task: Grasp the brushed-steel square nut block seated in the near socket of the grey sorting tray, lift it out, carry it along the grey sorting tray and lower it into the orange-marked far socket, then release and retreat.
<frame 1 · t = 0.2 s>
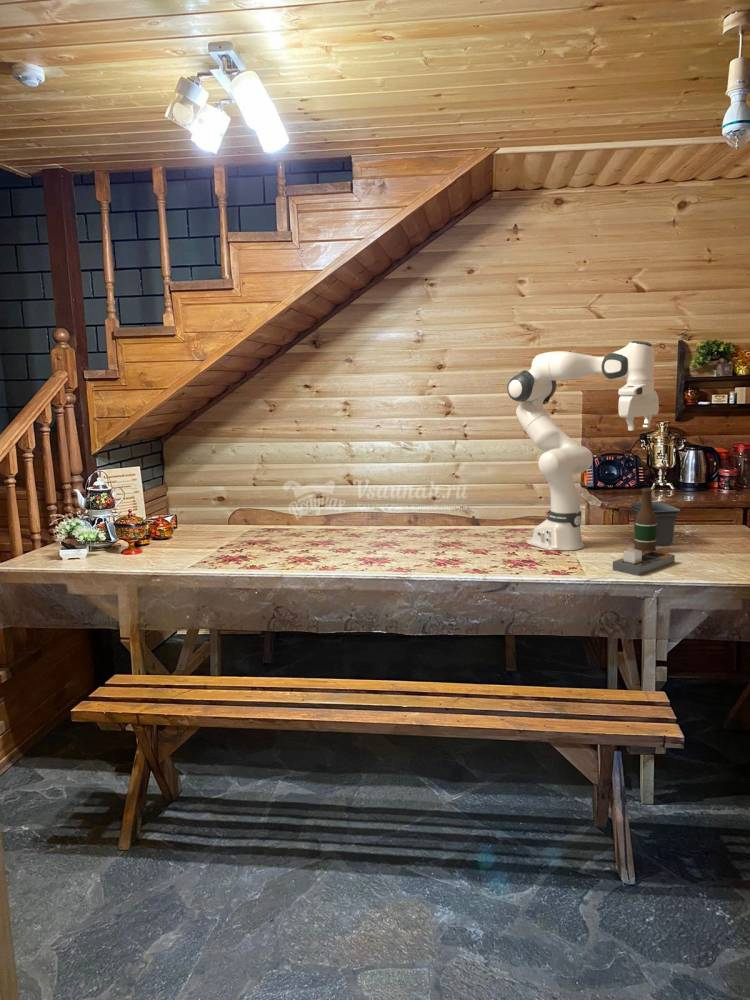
hand: (638, 429, 254), 47 cm above the table, fingers open, 8 cm apart
nut block: (632, 570, 249), resting on grey sorting tray
beer bottle: (644, 552, 275), on the table
grey sorting tray: (643, 568, 254), on the table
storage bin: (655, 541, 290), on the table
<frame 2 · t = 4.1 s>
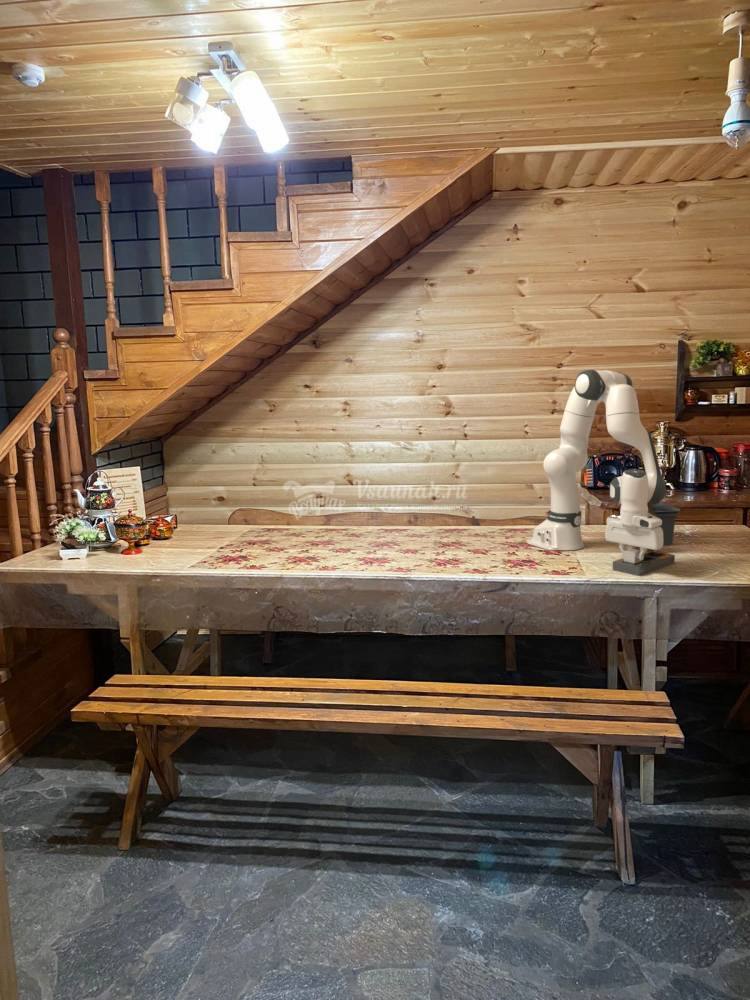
hand: (632, 558, 249), 5 cm above the table, fingers closed on nut block, 4 cm apart
nut block: (632, 570, 249), point 1 cm above the table, touching gripper, grey sorting tray
everything else where it was.
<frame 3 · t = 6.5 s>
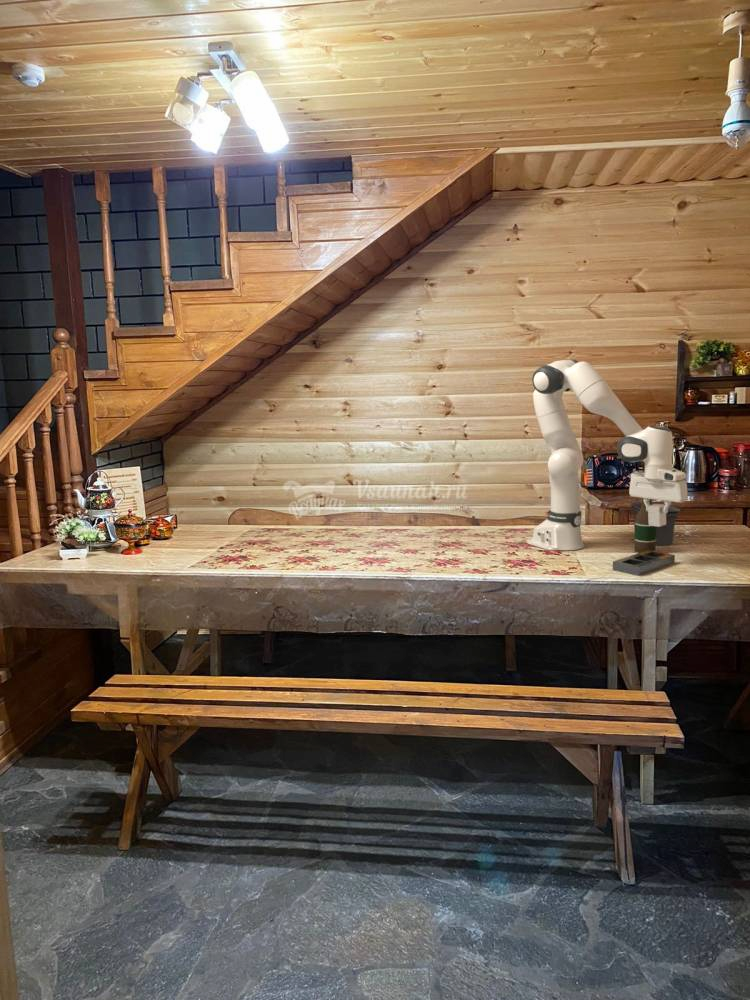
hand: (656, 512, 254), 19 cm above the table, fingers closed on nut block, 4 cm apart
nut block: (657, 525, 255), point 14 cm above the table, touching gripper
everything else where it was.
when the fingers open (6 cm above the table, at t = 8.8 s): nut block stays where it is, resting on grey sorting tray.
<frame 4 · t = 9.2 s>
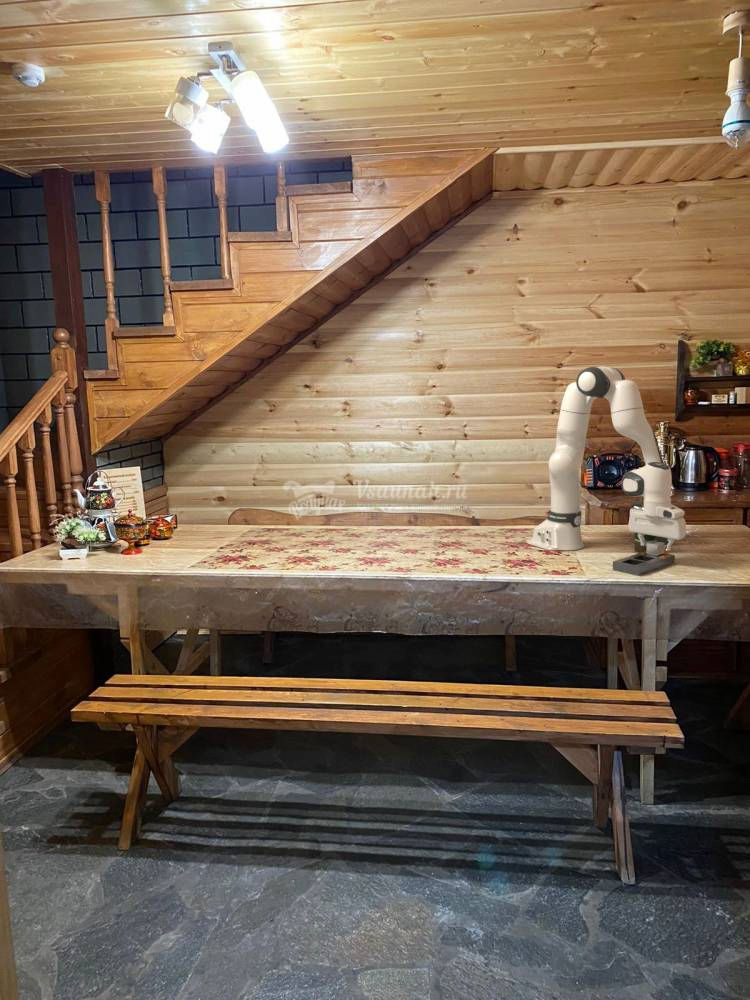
hand: (655, 547, 257), 6 cm above the table, fingers open, 8 cm apart
nut block: (654, 562, 258), point 1 cm above the table, touching grey sorting tray
everything else where it was.
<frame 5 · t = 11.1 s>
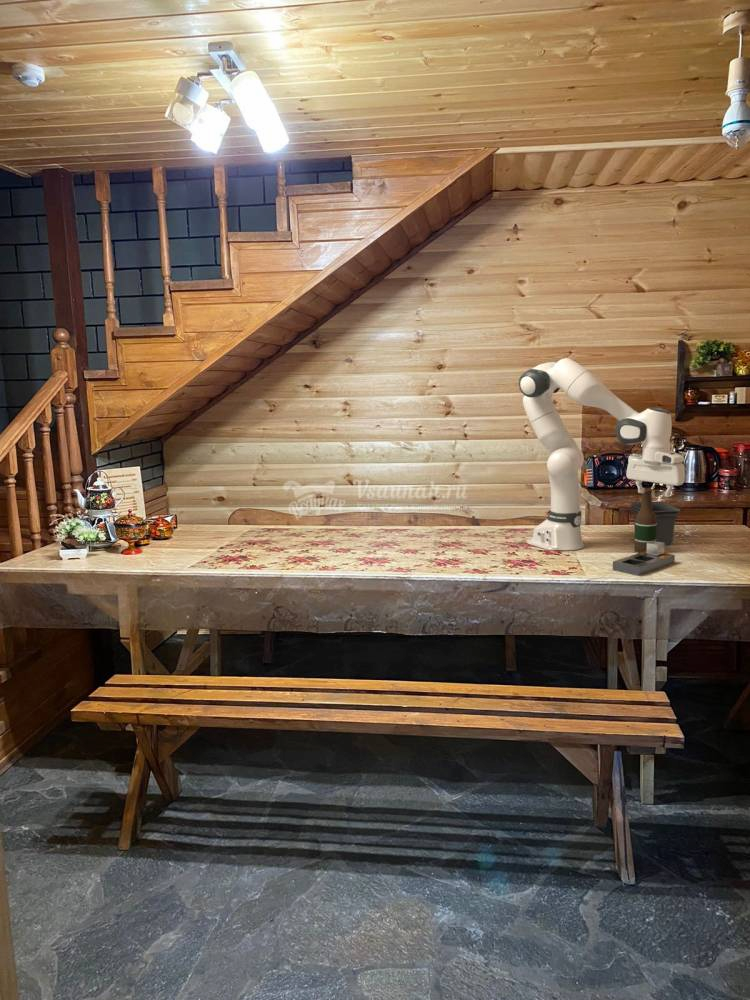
hand: (653, 495, 254), 25 cm above the table, fingers open, 8 cm apart
nothing on the table moved.
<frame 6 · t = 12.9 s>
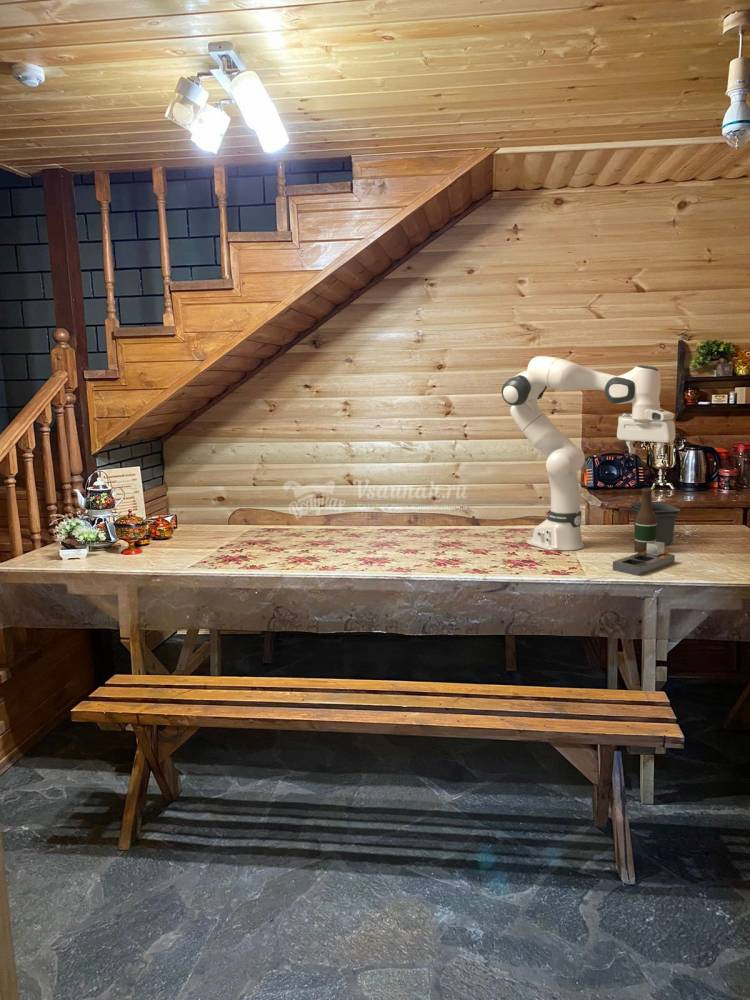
hand: (644, 454, 251), 39 cm above the table, fingers open, 8 cm apart
nothing on the table moved.
at the end: nut block 0.3 cm from the target spot on the grey sorting tray, point 0.6 cm above the grey sorting tray's base; nut block tilted 0°; the gripper is holding nothing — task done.
